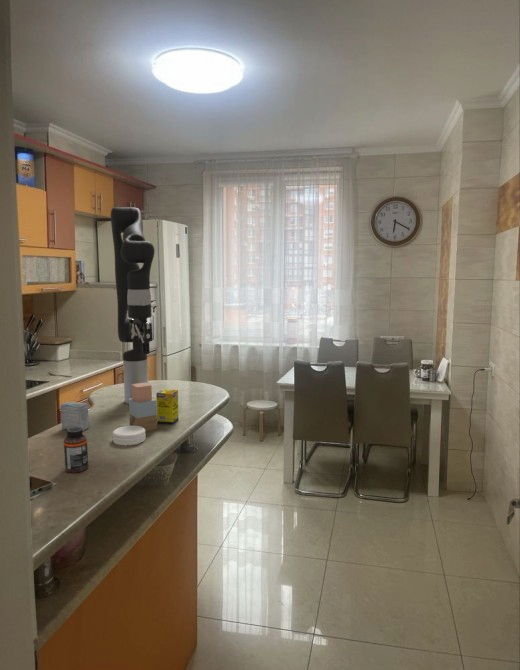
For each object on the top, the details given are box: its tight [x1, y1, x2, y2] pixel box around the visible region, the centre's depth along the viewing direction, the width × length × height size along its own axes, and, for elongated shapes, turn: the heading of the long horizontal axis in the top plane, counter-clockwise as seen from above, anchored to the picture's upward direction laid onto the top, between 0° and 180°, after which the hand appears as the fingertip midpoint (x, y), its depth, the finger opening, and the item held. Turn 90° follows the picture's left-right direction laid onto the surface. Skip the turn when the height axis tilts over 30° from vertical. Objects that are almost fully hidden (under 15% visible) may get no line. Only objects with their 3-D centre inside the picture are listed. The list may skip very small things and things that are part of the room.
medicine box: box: [60, 401, 90, 432], centre depth 177 cm, size 8×4×9 cm, turn 71°
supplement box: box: [155, 388, 179, 425], centre depth 184 cm, size 6×6×11 cm
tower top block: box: [128, 397, 157, 418], centre depth 177 cm, size 7×7×5 cm
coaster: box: [112, 425, 147, 447], centre depth 166 cm, size 10×10×4 cm
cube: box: [132, 382, 153, 402], centre depth 176 cm, size 5×5×5 cm
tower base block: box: [128, 412, 158, 432], centre depth 178 cm, size 7×7×5 cm
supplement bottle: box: [63, 427, 89, 474], centre depth 143 cm, size 6×6×11 cm
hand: (141, 352), depth 175 cm, fingers open, 8 cm apart
